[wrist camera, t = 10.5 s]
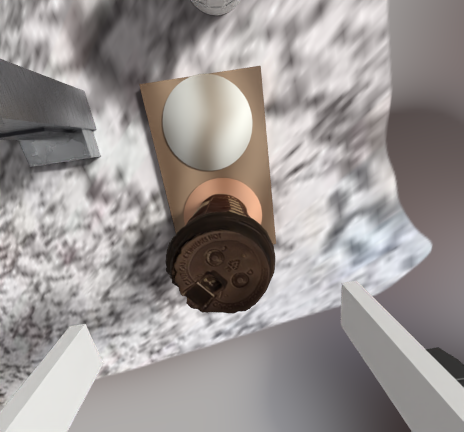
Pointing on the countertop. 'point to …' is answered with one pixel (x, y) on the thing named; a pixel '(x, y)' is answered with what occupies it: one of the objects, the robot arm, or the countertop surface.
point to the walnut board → (212, 142)
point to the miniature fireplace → (45, 117)
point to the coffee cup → (221, 257)
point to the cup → (215, 6)
